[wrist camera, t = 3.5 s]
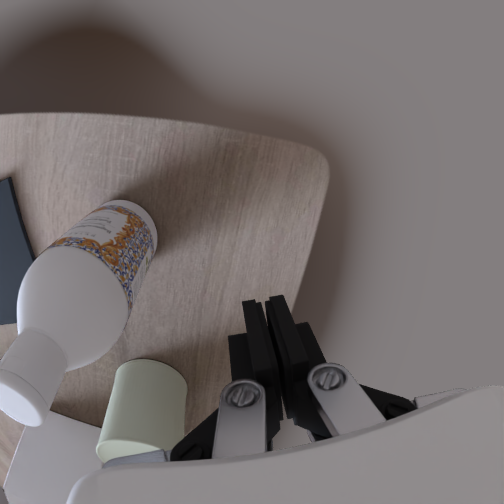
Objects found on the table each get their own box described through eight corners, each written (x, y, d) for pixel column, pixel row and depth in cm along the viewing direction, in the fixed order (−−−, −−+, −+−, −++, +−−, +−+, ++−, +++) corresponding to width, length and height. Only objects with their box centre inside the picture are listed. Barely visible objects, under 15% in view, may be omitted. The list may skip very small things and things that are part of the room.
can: (137, 411, 36) (125, 484, 25) (102, 365, 32) (76, 444, 21) (198, 401, 36) (199, 481, 25) (169, 351, 32) (158, 440, 21)
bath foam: (160, 200, 26) (63, 361, 7) (157, 272, 28) (105, 466, 10) (88, 195, 24) (-69, 319, 6) (91, 265, 27) (-12, 428, 9)
